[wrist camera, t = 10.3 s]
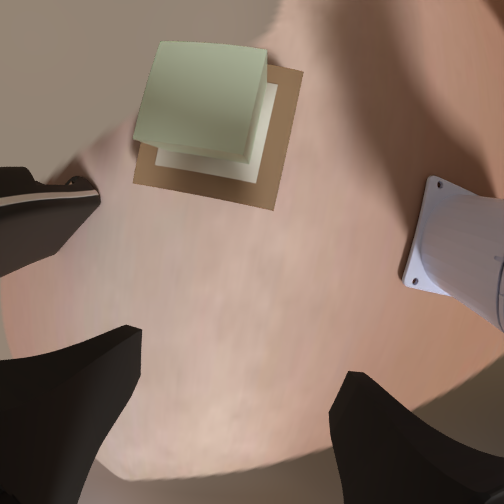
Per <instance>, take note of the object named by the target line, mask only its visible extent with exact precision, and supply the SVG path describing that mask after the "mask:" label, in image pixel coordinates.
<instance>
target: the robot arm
mask: <svg viewBox="0 0 504 504" xmlns="http://www.w3.org/2000/svg"><path fill="white" fill-rule="evenodd" d="M438 182H439V183H440V187H439V188H438V186H437V183H438ZM414 278H416V281H415V283H412V281H413V279H414ZM402 283H403V284H404V285H405V286H407V287H411V288H415V289H420V290H424V291H429V292H434V293H438V294H443V295H447V296H452V297H454V298H455V299H457V300H458V301H460V302H461V303H463V304H464V305H465V306H467V307H468V308H470V309H471V310H473V311H474V312H476V313H477V314H478V315H480V316H481V317H483V318H484V319H485V320H487V321H488V322H490V323H491V324H492V325H494V326H495V327H496V328H498V329H499V330H501V331H502V332H503V333H504V199H499V198H491V197H483V196H478V195H476V194H474V193H472V192H470V191H468V190H466V189H464V188H462V187H460V186H458V185H455V184H453V183H451V182H449V181H446V180H444V179H442V178H439V177H437V176H429V177H428V179H427V182H426V188H425V193H424V197H423V202H422V207H421V211H420V215H419V220H418V224H417V228H416V232H415V236H414V239H413V243H412V247H411V250H410V254H409V257H408V261H407V264H406V267H405V271H404V274H403V277H402ZM141 343H142V329H139V328H136V327H132V326H129V325H124V326H121V327H118V328H116V329H113V330H111V331H108V332H106V333H104V334H101V335H99V336H96V337H94V338H91V339H89V340H86V341H84V342H81V343H78V344H75V345H72V346H69V347H66V348H63V349H60V350H57V351H54V352H50V353H46V354H42V355H37V356H32V357H27V358H19V359H10V360H0V504H77V503H78V500H79V497H80V494H81V491H82V488H83V485H84V483H85V481H86V478H87V475H88V473H89V470H90V468H91V466H92V463H93V461H94V459H95V457H96V454H97V452H98V450H99V448H100V446H101V444H102V442H103V441H104V439H105V437H106V436H107V434H108V433H109V431H110V429H111V428H112V426H113V425H114V423H115V422H116V420H117V418H118V417H119V415H120V414H121V412H122V411H123V409H124V407H125V406H126V404H127V403H128V401H129V399H130V398H131V396H132V394H133V391H134V389H135V387H136V385H137V382H138V380H139V378H140V376H141ZM329 425H330V435H331V440H332V444H333V449H334V453H335V457H336V462H337V465H338V470H339V474H340V479H341V483H342V488H343V496H344V504H504V458H503V457H498V456H494V455H491V454H487V453H484V452H481V451H478V450H476V449H473V448H471V447H468V446H466V445H464V444H462V443H459V442H457V441H455V440H453V439H451V438H449V437H448V436H446V435H444V434H442V433H441V432H439V431H437V430H436V429H434V428H433V427H431V426H429V425H428V424H426V423H425V422H424V421H422V420H421V419H420V418H418V417H417V416H416V415H414V414H413V413H412V412H410V411H409V410H408V409H407V408H405V407H404V406H403V405H402V404H401V403H399V402H398V401H397V400H396V399H395V398H394V397H392V396H391V395H390V394H389V393H388V392H387V391H386V390H384V389H383V388H382V387H381V386H380V385H379V384H378V383H376V382H375V381H374V380H373V379H372V378H370V377H369V376H368V375H366V374H365V373H363V372H353V371H348V373H347V375H346V377H345V379H344V382H343V384H342V386H341V388H340V390H339V392H338V395H337V397H336V399H335V401H334V403H333V405H332V407H331V409H330V411H329Z"/></svg>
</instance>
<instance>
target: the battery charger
mask: <svg viewBox="0 0 504 504" xmlns="http://www.w3.org/2000/svg"><path fill="white" fill-rule="evenodd" d="M100 203H101V200H100V198H99V194H98V193H97V191H96V190H94V189H93V187H92V185H91V184H90V183H89V182H88V181H87V180H86V179H85V178H83V177H80V176H75V177H72V178H71V179H70V180H69V181H68V182H67V183H66V184H65V185H44V184H42V183H40V182H38V181H35V180H34V178H33V176H32V175H31V173H30V172H29V170H28V169H27V168H25V167H0V277H2V276H5V275H7V274H9V273H11V272H13V271H16V270H18V269H20V268H22V267H25V266H27V265H29V264H31V263H34V262H36V261H39V260H41V259H44V258H46V257H49V256H52V255H54V254H56V253H57V252H58V251H59V250H60V248H61V247H62V246H63V245H64V244H65V243H66V242H67V240H68V239H69V238H70V237H71V236H72V235H73V234H74V233H75V231H76V230H77V229H78V228H79V227H80V226H81V225H82V224H83V223H84V221H85V220H86V219H87V218H88V217H89V216H90V215H91V214H92V213H93V212H94V211H95V210H96V208H97V207H98V206H99V205H100Z"/></svg>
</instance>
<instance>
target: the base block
mask: <svg viewBox="0 0 504 504" xmlns="http://www.w3.org/2000/svg"><path fill="white" fill-rule="evenodd" d="M302 77H303V71H298V70H294V69H290V68H285V67H280V66H275V65H270V64H267V87H266V92H265V96H264V101H263V105H262V109H261V114H260V118H259V123H258V127H257V132H256V137H255V141H254V146H253V150H252V155H251V160H250V164H244V163H239V162H234V161H228V160H223V159H217V158H211V157H205V156H199V155H193V154H186V153H179V152H172V151H167V150H164V149H161V148H158V147H155V146H152V145H149V144H146V143H143V142H141V143H140V148H139V153H138V158H137V163H136V168H135V173H134V179H133V183H134V184H140V185H146V186H152V187H157V188H163V189H168V190H174V191H179V192H185V193H190V194H195V195H200V196H206V197H211V198H216V199H221V200H225V201H230V202H235V203H240V204H245V205H249V206H254V207H259V208H263V209H268V210H272V211H274V206H275V202H276V197H277V193H278V188H279V184H280V179H281V175H282V170H283V166H284V161H285V157H286V152H287V147H288V143H289V138H290V134H291V129H292V124H293V120H294V115H295V110H296V106H297V101H298V96H299V91H300V87H301V82H302Z"/></svg>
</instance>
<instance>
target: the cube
mask: <svg viewBox="0 0 504 504" xmlns="http://www.w3.org/2000/svg"><path fill="white" fill-rule="evenodd" d="M266 87H267V50H265V49H259V48H252V47H245V46H237V45H228V44H218V43H205V42H184V41H160V44H159V46H158V49H157V53H156V55H155V58H154V61H153V65H152V68H151V71H150V74H149V77H148V81H147V84H146V88H145V91H144V95H143V99H142V102H141V106H140V110H139V114H138V118H137V122H136V126H135V131H134V135H133V139H134V140H137V141H140V142H143V143H146V144H149V145H152V146H155V147H158V148H161V149H164V150H167V151H172V152H179V153H186V154H193V155H199V156H205V157H211V158H217V159H223V160H228V161H234V162H239V163H244V164H250V160H251V155H252V150H253V146H254V141H255V137H256V132H257V127H258V123H259V118H260V114H261V109H262V105H263V101H264V96H265V92H266Z"/></svg>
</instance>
